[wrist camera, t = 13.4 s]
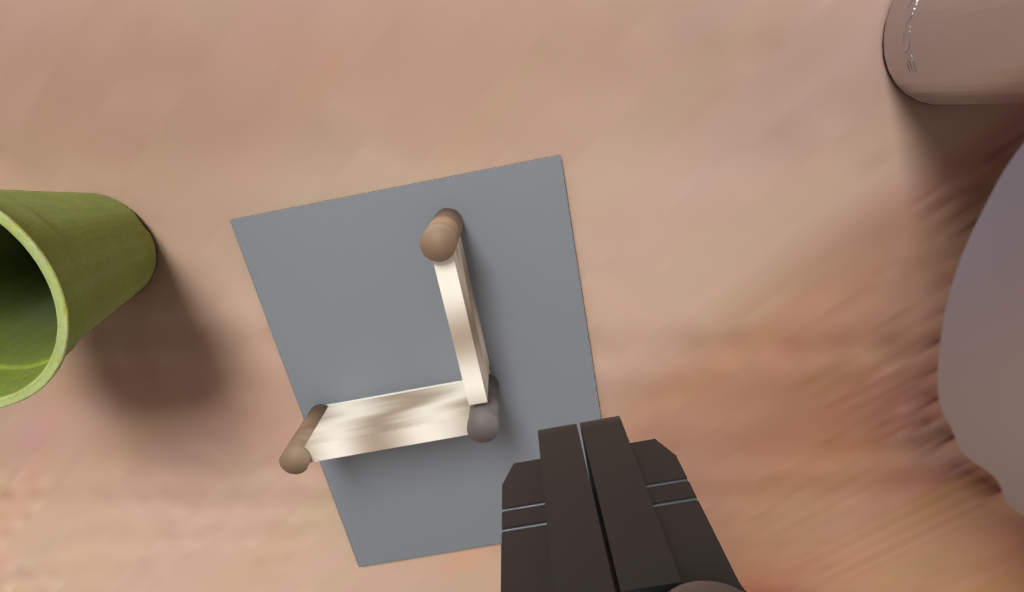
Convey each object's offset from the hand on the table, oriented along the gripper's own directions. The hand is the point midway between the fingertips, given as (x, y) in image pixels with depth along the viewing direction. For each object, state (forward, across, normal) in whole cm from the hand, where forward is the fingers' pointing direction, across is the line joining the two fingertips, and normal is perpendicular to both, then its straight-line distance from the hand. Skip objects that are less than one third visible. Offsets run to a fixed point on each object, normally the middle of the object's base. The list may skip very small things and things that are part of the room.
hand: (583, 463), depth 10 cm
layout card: (+27, +8, +12) cm, 30 cm away
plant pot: (+27, +28, -3) cm, 39 cm away
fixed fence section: (+27, +5, +5) cm, 28 cm away
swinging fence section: (+26, +11, +12) cm, 30 cm away
